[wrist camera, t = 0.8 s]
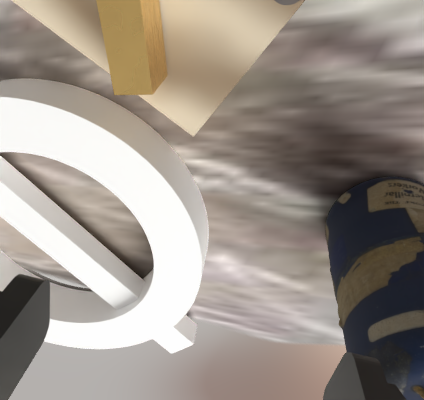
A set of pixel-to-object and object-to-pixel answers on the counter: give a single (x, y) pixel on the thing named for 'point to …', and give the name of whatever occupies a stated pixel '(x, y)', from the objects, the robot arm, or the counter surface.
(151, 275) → the white circle with bar
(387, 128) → the counter surface
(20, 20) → the counter surface
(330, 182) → the counter surface
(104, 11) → the t-shaped piece
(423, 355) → the canister
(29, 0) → the base board
